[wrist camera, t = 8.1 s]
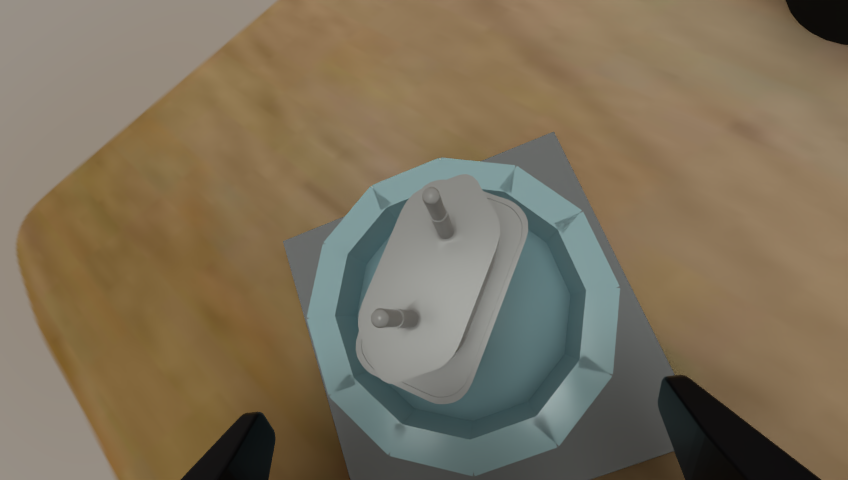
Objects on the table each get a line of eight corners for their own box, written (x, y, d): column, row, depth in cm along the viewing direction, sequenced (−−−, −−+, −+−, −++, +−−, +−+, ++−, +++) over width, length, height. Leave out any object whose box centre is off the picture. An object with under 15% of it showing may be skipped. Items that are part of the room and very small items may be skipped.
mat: (701, 436, 16) (707, 439, 15) (374, 548, 17) (371, 554, 16) (552, 135, 19) (553, 131, 19) (286, 242, 20) (283, 241, 20)
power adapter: (515, 254, 17) (582, 113, 5) (470, 375, 16) (435, 509, 5) (448, 230, 18) (381, 56, 6) (402, 345, 17) (225, 397, 5)
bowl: (640, 388, 16) (678, 405, 13) (385, 479, 17) (362, 515, 14) (528, 151, 19) (536, 118, 15) (312, 238, 19) (279, 223, 16)
